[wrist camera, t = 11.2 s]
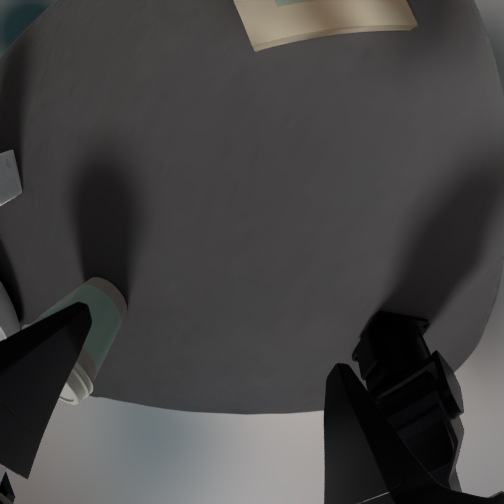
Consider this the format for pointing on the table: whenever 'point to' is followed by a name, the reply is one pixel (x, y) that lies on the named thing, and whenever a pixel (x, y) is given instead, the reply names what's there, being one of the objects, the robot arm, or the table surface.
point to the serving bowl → (7, 315)
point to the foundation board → (319, 19)
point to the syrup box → (9, 177)
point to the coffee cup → (91, 333)
